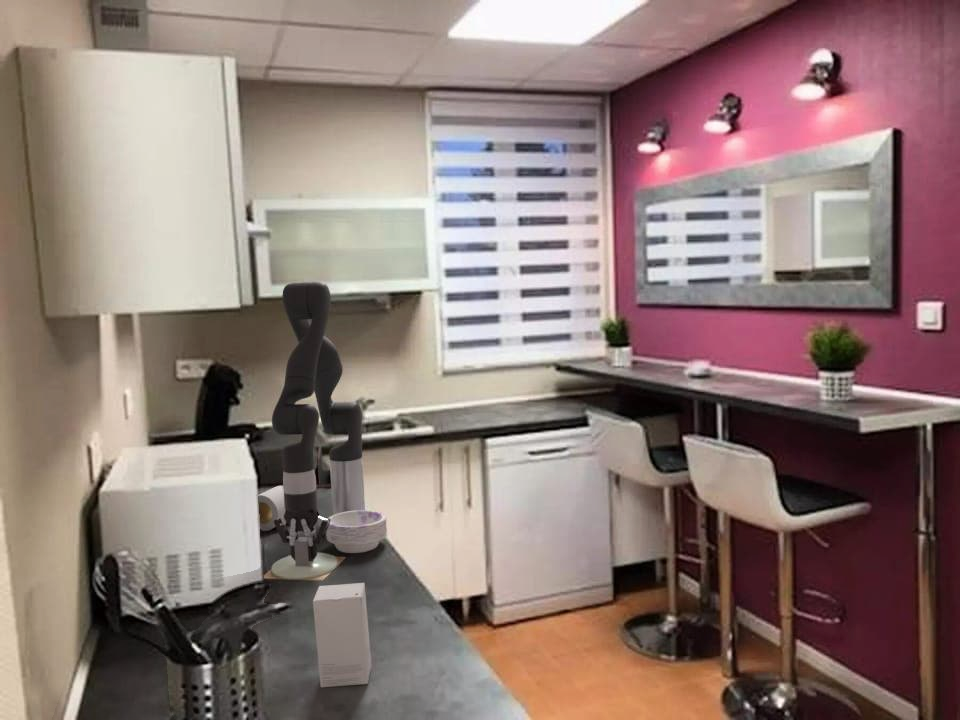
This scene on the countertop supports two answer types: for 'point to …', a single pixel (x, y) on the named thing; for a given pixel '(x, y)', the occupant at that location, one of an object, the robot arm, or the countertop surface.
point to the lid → (303, 563)
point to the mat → (320, 578)
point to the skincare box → (342, 635)
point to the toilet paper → (271, 507)
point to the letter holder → (322, 473)
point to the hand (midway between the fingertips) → (304, 559)
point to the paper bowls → (356, 530)
